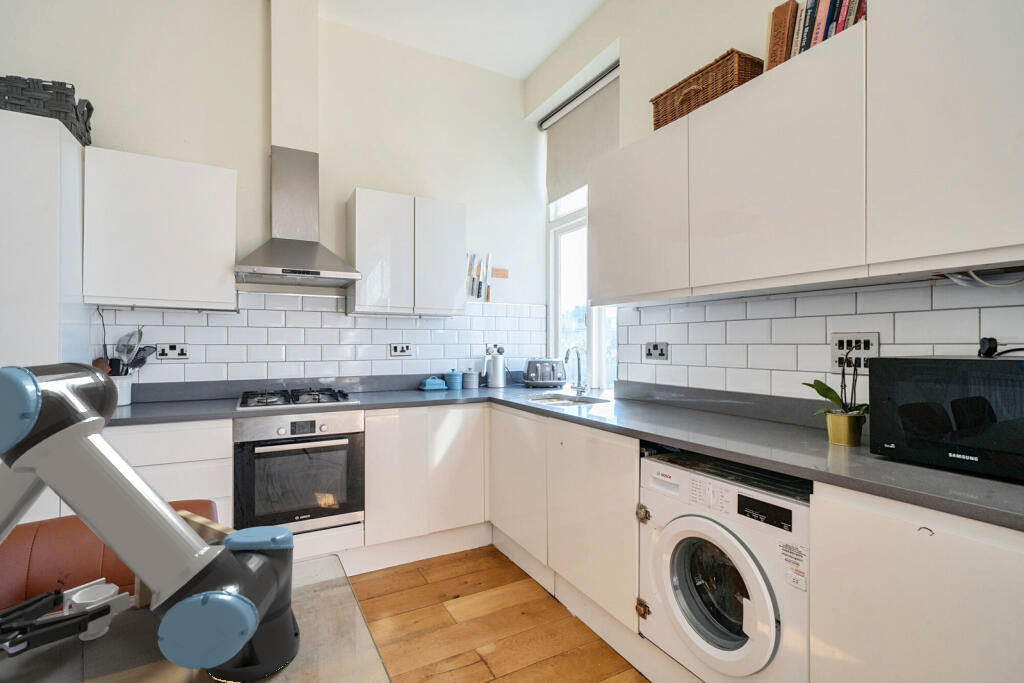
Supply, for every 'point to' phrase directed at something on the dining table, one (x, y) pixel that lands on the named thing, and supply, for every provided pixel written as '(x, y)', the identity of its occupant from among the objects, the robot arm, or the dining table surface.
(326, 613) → the dining table surface
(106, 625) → the cup
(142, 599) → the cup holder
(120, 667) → the dining table surface
